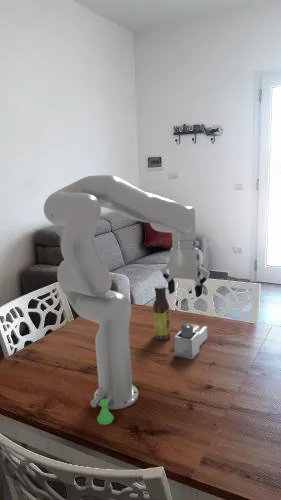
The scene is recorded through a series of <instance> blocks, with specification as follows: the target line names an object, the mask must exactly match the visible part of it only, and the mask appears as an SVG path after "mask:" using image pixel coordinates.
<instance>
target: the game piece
mask: <svg viewBox="0 0 281 500" xmlns="http://www.w3.org/2000/svg"><path fill="white" fill-rule="evenodd" d="M100 406H102V407H101V410H100V412H99V414H98V416H97V418H96V420H97V422H98V423H99V425H105V426H106V425H110V424H111V423H112V422H113V420H114V417H115V416H114V415H113V414H112V412H110V411H109V410H110V409H108V408H107V406H108V400H106V399H103V400H100ZM100 406H99V407H100Z"/></svg>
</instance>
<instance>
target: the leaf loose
mask: <svg viewBox="0 0 281 500" xmlns="http://www.w3.org/2000/svg"><path fill="white" fill-rule="evenodd" d="M198 333H199V348H200V347H201V346H202V345H203V343H204V342H205V341H206V340H207V339H208V326H206V325H205V326H203V327H202V328H200V331H199V332H198Z"/></svg>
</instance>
